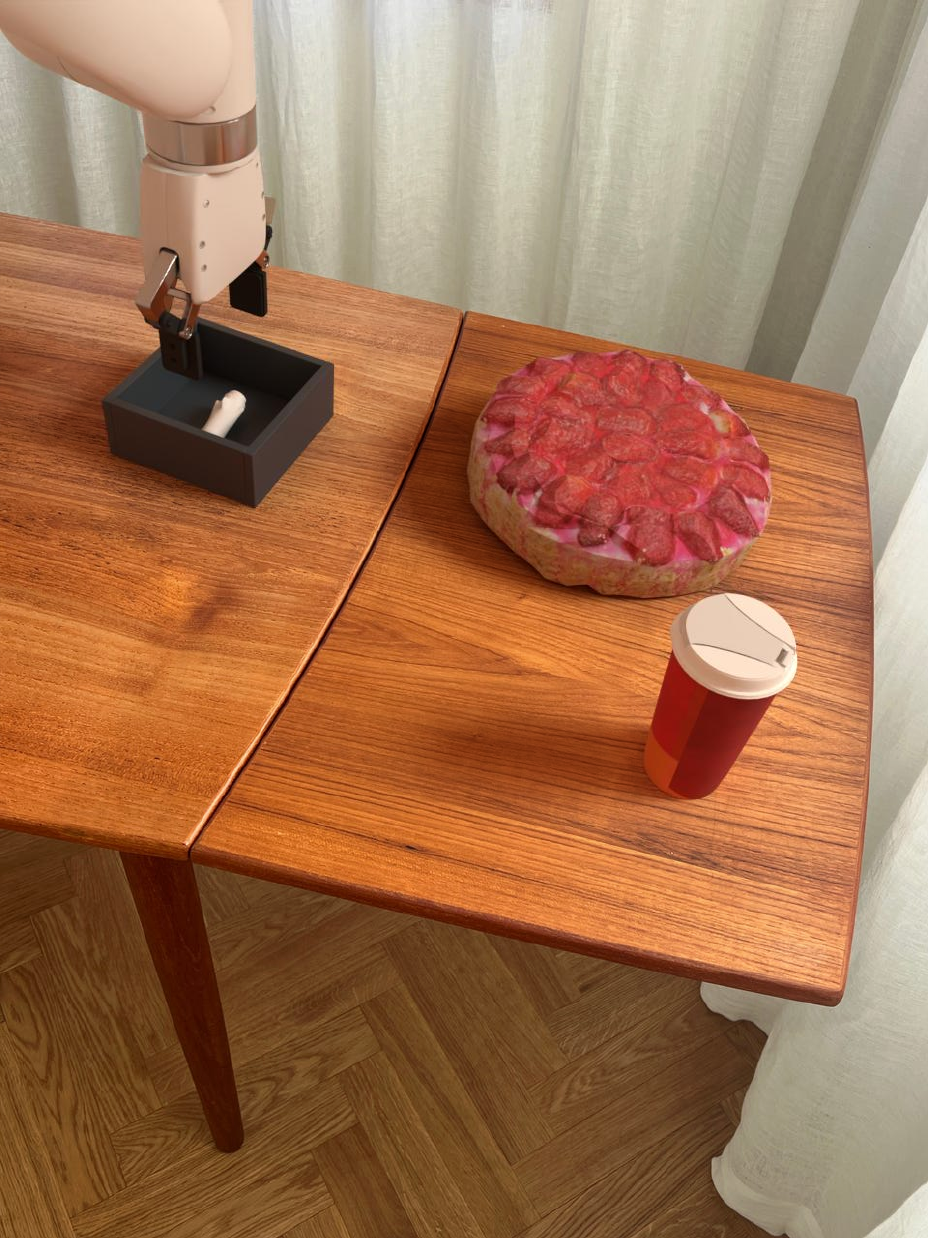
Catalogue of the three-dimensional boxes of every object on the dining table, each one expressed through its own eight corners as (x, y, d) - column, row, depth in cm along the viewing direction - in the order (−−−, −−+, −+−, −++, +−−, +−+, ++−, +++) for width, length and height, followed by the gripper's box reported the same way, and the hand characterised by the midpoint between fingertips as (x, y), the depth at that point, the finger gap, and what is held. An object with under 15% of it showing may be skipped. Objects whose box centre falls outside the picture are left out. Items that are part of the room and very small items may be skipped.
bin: (110, 453, 92) (100, 399, 88) (199, 367, 100) (194, 314, 96) (255, 508, 89) (252, 455, 85) (333, 415, 98) (334, 363, 94)
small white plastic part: (178, 435, 93) (175, 406, 91) (237, 408, 96) (235, 379, 94) (203, 458, 92) (200, 428, 89) (262, 430, 95) (261, 400, 92)
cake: (506, 365, 103) (520, 294, 97) (768, 442, 101) (800, 374, 95) (426, 555, 88) (436, 485, 82) (732, 649, 86) (767, 585, 80)
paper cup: (754, 755, 78) (822, 624, 67) (710, 833, 73) (776, 707, 63) (655, 701, 80) (705, 567, 70) (606, 774, 76) (652, 642, 65)
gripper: (220, 67, 81) (232, 276, 94) (75, 161, 70) (111, 383, 83) (311, 94, 80) (311, 302, 93) (178, 195, 69) (199, 416, 81)
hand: (217, 340), depth 88 cm, fingers open, 9 cm apart
